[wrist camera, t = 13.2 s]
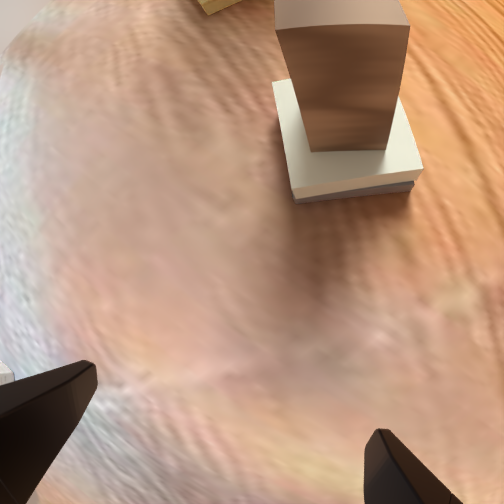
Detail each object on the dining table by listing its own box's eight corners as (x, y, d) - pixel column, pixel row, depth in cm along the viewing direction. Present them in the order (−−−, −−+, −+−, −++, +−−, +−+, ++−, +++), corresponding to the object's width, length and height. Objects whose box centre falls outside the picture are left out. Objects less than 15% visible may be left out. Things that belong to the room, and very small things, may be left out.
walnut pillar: (375, 89, 17) (379, -37, 8) (385, 150, 17) (410, 25, 7) (306, 92, 19) (272, -31, 9) (310, 152, 18) (275, 29, 9)
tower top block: (383, 81, 19) (385, 64, 18) (416, 180, 18) (423, 168, 16) (277, 98, 21) (271, 82, 19) (296, 199, 20) (291, 189, 18)
